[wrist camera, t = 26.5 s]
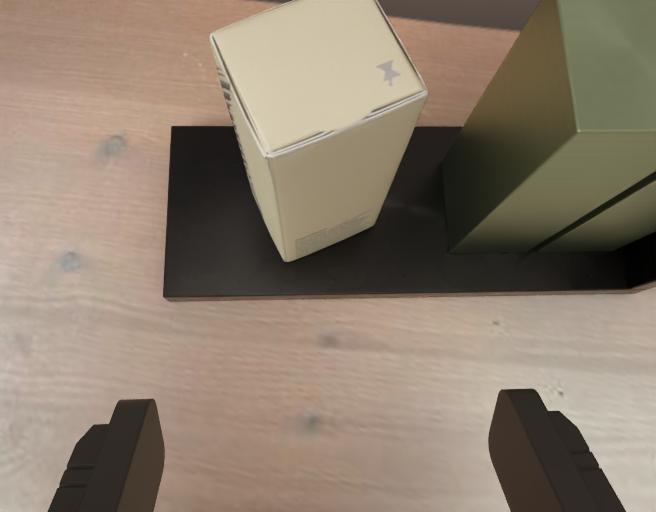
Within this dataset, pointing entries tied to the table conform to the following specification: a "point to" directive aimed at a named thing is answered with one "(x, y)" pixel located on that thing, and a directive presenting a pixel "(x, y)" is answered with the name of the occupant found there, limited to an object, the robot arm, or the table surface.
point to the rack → (464, 185)
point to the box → (318, 115)
